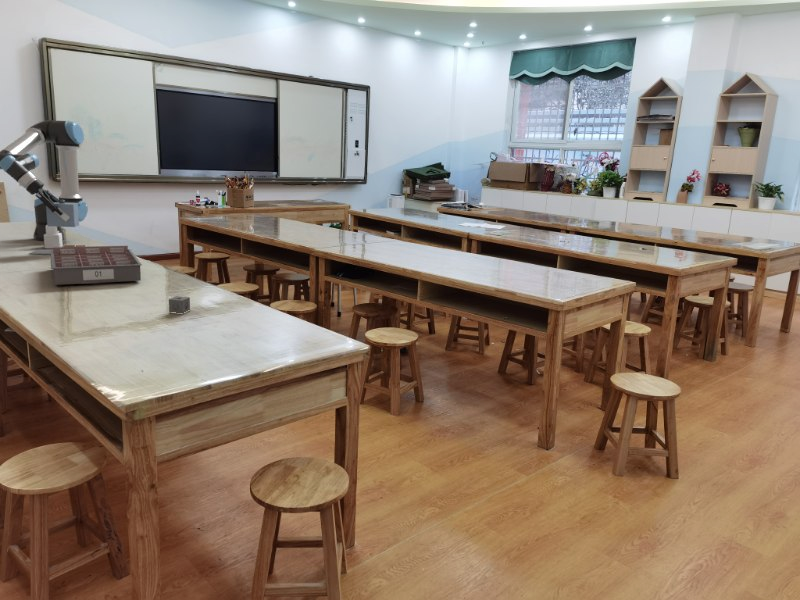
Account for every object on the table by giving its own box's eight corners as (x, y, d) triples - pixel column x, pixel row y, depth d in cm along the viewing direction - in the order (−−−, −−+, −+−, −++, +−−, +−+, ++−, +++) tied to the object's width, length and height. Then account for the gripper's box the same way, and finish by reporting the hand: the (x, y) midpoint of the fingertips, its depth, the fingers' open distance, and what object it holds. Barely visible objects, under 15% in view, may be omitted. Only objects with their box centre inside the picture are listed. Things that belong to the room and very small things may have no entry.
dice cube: (169, 313, 205) (168, 299, 204) (176, 310, 210) (176, 296, 209) (182, 314, 204) (182, 300, 203) (190, 311, 209) (189, 297, 208)
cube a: (66, 252, 303) (65, 244, 302) (75, 252, 304) (74, 245, 303) (64, 254, 299) (63, 246, 298) (72, 254, 300) (72, 246, 299)
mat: (37, 250, 303) (37, 249, 303) (59, 251, 306) (59, 249, 305) (29, 254, 292) (28, 253, 292) (51, 255, 294) (51, 253, 294)
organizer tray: (52, 288, 230) (50, 263, 227) (51, 269, 263) (49, 246, 261) (143, 284, 246) (142, 260, 243) (131, 266, 279) (130, 245, 277)
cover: (52, 224, 300) (50, 198, 297) (79, 225, 303) (77, 199, 300) (47, 226, 293) (45, 200, 290) (74, 227, 295) (73, 201, 293)
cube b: (76, 253, 303) (76, 245, 302) (85, 252, 305) (85, 245, 304) (75, 254, 300) (75, 246, 299) (84, 254, 301) (84, 246, 300)
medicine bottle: (47, 246, 317) (45, 223, 314) (63, 246, 319) (61, 223, 316) (44, 248, 310) (42, 225, 307) (59, 248, 312) (58, 225, 310)
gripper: (33, 187, 300) (70, 221, 308) (17, 190, 280) (58, 226, 288) (44, 177, 300) (81, 211, 308) (29, 179, 280) (70, 215, 288)
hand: (70, 218), depth 298 cm, fingers closed on cover, 8 cm apart
